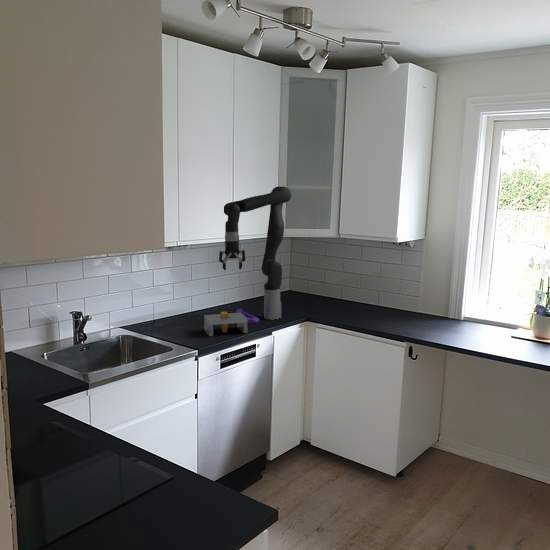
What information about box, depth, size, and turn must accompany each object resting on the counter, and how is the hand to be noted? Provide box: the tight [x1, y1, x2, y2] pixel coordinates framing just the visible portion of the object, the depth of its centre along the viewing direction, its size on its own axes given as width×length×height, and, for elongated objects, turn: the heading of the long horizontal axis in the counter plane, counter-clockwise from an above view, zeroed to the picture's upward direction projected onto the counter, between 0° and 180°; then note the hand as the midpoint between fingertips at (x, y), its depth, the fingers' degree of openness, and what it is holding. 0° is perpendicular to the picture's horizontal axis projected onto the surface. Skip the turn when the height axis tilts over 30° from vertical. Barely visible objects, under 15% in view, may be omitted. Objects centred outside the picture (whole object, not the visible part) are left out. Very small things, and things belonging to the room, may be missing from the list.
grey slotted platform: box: [203, 312, 249, 337], centre depth 289 cm, size 20×14×8 cm
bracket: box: [235, 308, 260, 324], centre depth 311 cm, size 12×7×7 cm, turn 80°
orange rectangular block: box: [220, 311, 229, 333], centre depth 290 cm, size 3×4×10 cm, turn 17°
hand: (232, 269), depth 304 cm, fingers open, 8 cm apart
